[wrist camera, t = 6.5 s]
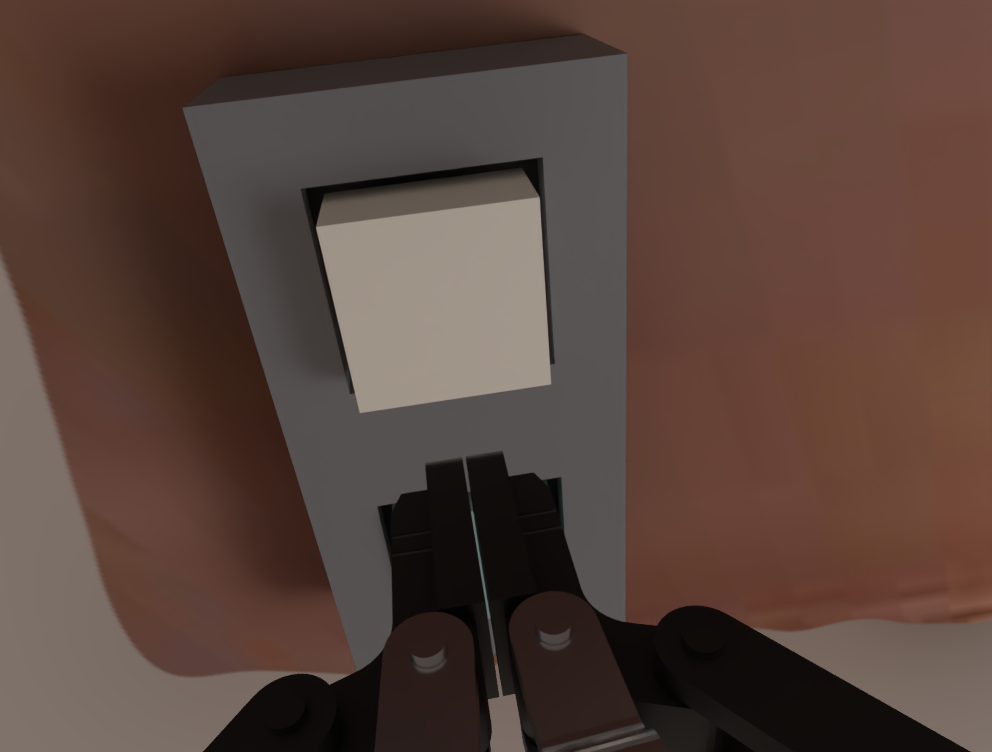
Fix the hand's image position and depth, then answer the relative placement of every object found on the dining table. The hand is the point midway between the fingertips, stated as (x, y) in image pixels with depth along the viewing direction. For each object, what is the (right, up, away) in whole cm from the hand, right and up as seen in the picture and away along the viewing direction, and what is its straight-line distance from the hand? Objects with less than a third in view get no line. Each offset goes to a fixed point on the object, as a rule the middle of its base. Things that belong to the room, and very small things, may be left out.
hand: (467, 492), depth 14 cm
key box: (-1, +3, +16) cm, 16 cm away
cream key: (-1, +6, +9) cm, 11 cm away
